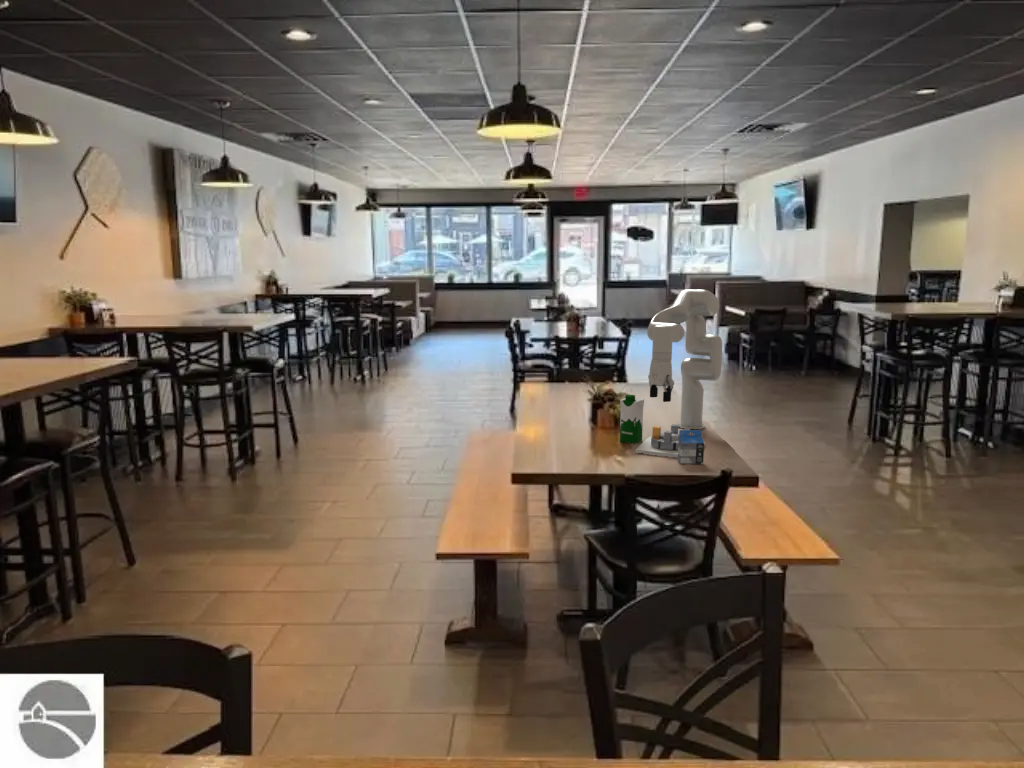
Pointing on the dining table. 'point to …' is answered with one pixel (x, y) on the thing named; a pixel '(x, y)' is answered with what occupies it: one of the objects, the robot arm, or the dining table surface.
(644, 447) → the cap base
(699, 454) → the label tape cartridge
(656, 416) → the dining table surface
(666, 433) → the ring nut
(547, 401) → the dining table surface
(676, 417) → the dining table surface
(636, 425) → the milk carton
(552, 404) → the dining table surface
